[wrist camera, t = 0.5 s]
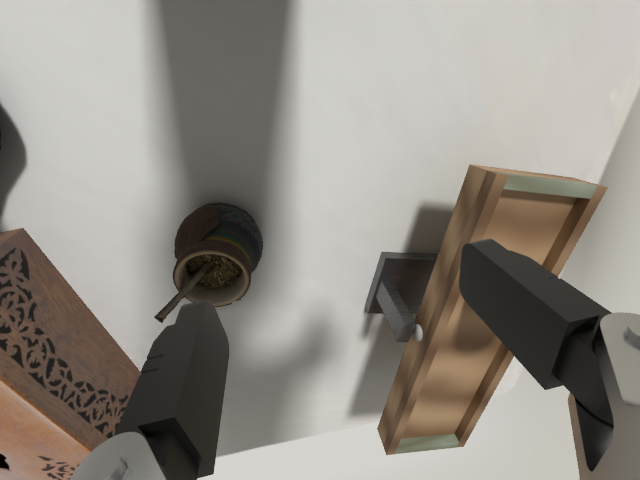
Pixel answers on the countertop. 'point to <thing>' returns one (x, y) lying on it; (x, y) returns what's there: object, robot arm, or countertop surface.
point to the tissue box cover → (52, 369)
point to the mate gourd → (214, 256)
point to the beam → (460, 319)
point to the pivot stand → (400, 289)
